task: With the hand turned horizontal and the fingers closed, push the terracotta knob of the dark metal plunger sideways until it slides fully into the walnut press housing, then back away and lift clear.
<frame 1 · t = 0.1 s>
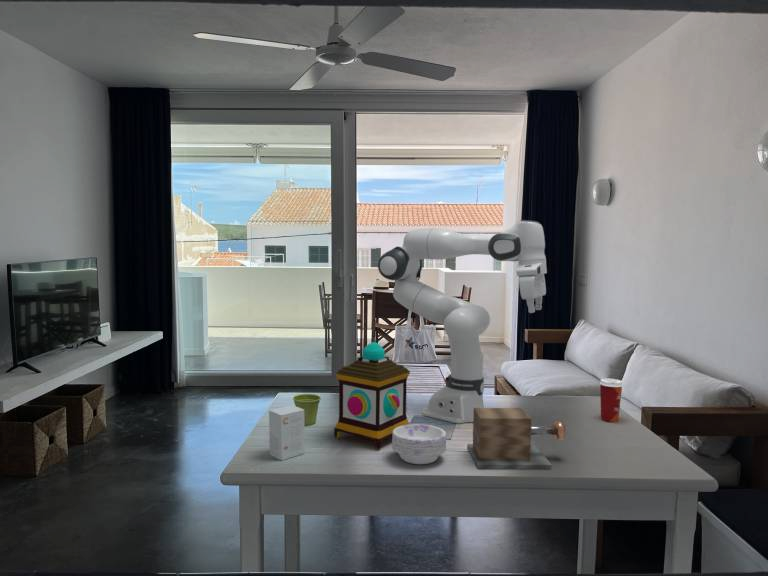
hand: (535, 311, 183), 39 cm above the table, tool pointing down, fingers open, 8 cm apart
paper cup: (609, 420, 195), on the table
small box: (287, 455, 159), on the table
plant pot: (306, 423, 188), on the table
paper bowls: (418, 459, 157), on the table
decorative lantern: (372, 437, 175), on the table
plunger: (532, 430, 158), point 8 cm above the table, slide at 6.0 cm
press housing: (500, 457, 159), on the table
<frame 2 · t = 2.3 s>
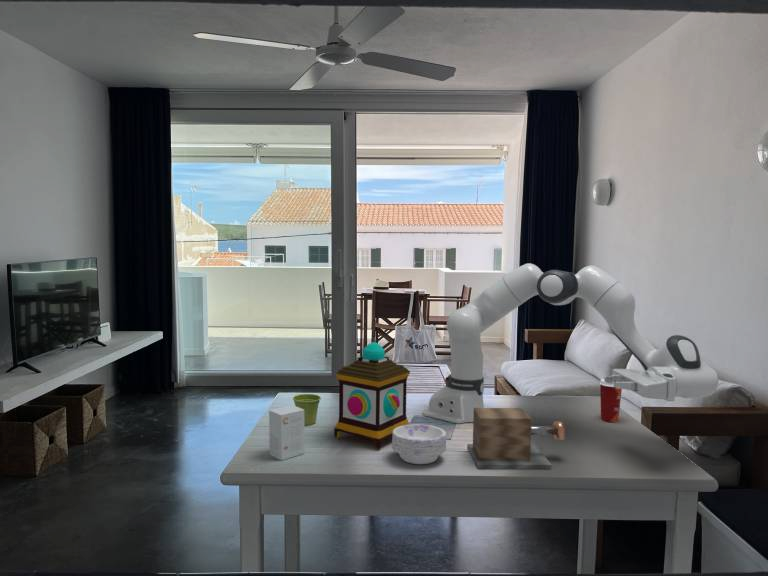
hand: (610, 382, 158), 22 cm above the table, tool horizontal, fingers open, 5 cm apart
nothing on the table moved.
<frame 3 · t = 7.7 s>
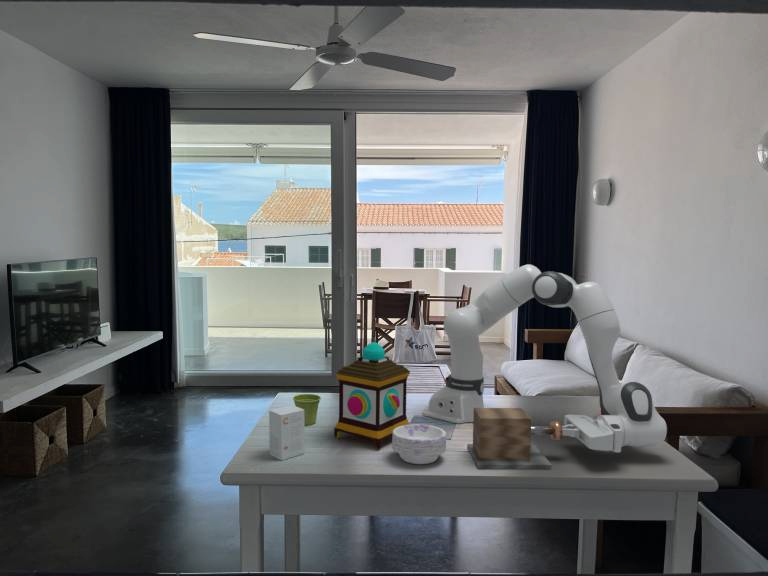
hand: (559, 430, 159), 8 cm above the table, tool horizontal, fingers closed, pressing on plunger
plunger: (529, 430, 158), point 8 cm above the table, slide at 5.1 cm, touching gripper
everything else where it was.
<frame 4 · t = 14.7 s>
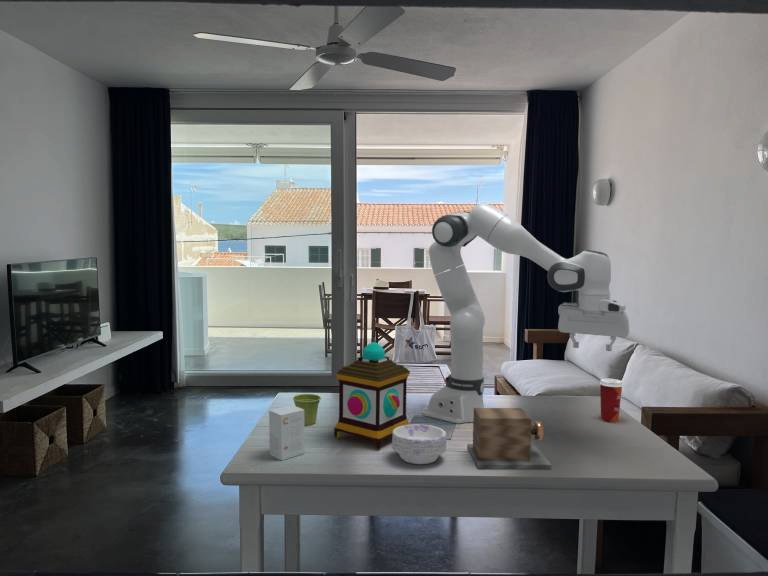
hand: (592, 349, 170), 29 cm above the table, tool pointing down, fingers open, 8 cm apart
plunger: (511, 430, 158), point 8 cm above the table, slide at 0.0 cm
everything else where it was.
at the end: plunger slide at 0.0 cm; the gripper is holding nothing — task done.
